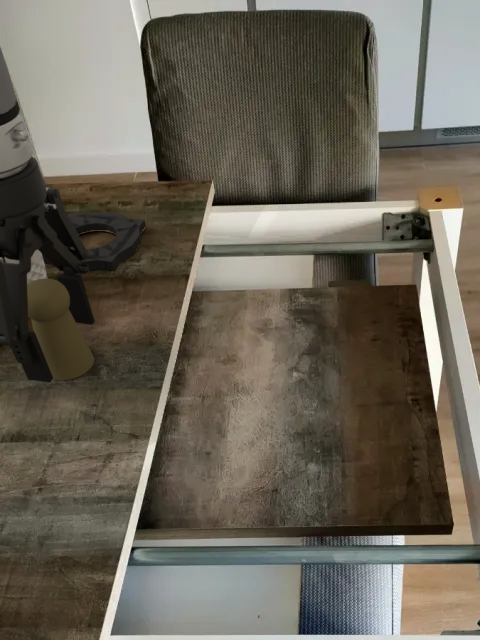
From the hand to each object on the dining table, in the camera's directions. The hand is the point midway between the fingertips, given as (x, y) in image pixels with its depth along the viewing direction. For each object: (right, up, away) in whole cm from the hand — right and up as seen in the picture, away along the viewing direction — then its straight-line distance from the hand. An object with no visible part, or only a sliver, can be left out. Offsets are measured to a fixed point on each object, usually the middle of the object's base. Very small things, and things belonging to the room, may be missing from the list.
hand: (63, 348), depth 77 cm
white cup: (-10, +9, +13) cm, 19 cm away
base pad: (-4, +18, +21) cm, 28 cm away
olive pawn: (0, -2, +2) cm, 2 cm away
